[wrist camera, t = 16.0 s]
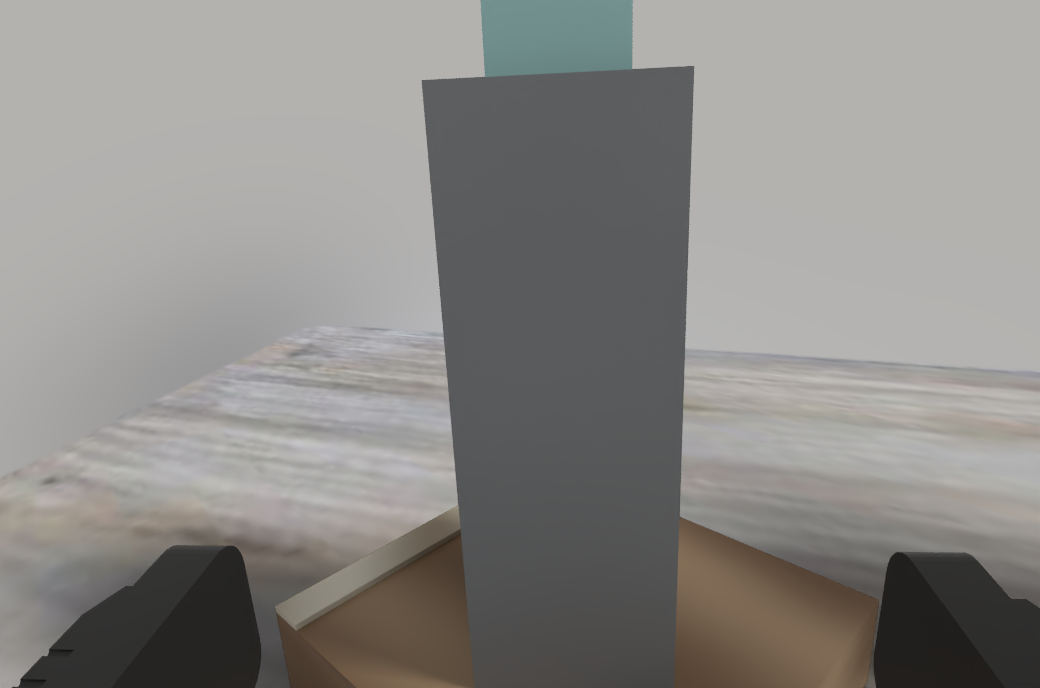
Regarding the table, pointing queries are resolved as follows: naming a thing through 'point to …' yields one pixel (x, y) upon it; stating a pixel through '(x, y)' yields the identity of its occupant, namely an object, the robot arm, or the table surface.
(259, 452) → the table surface
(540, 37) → the block
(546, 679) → the carrier
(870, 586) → the table surface
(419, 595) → the block
